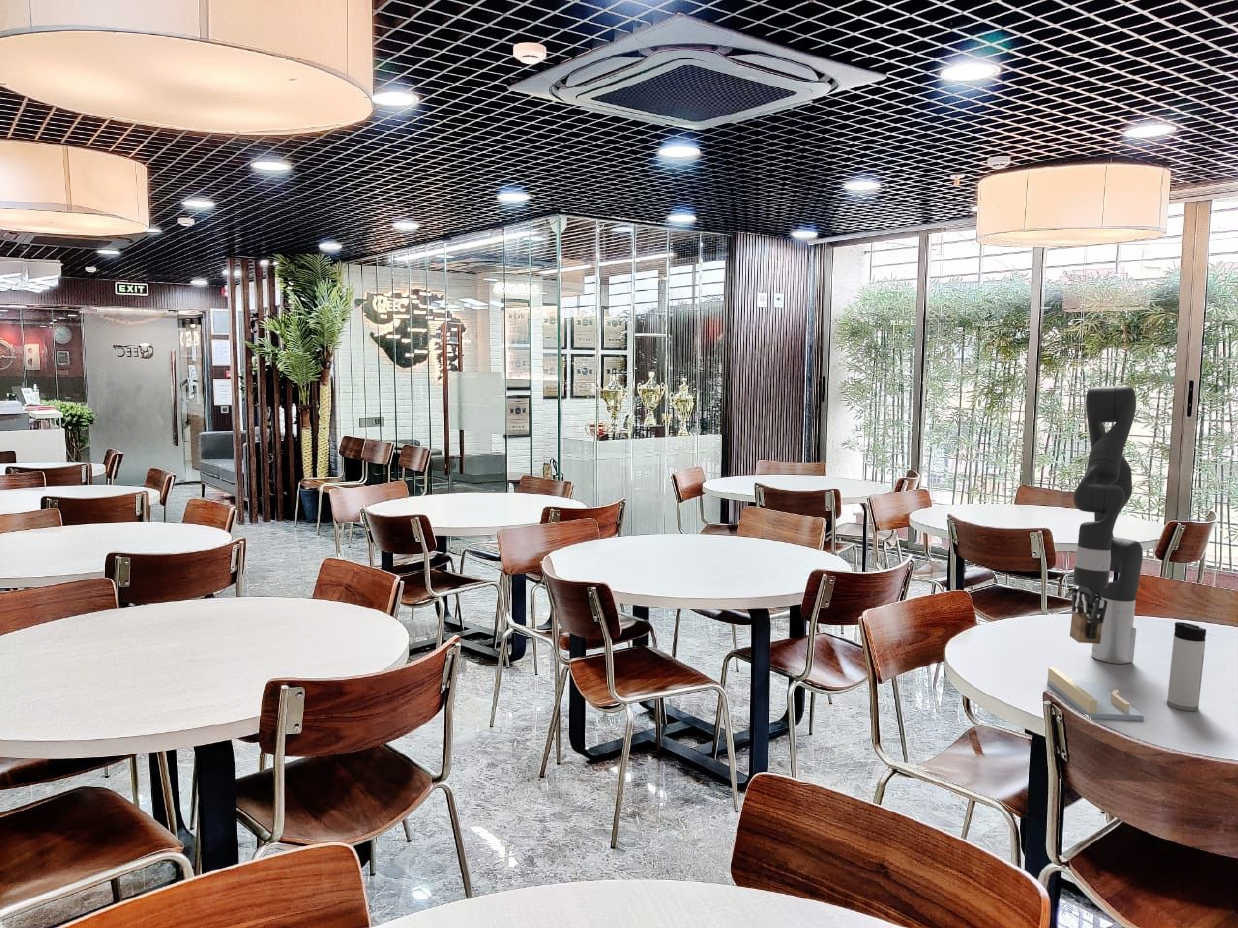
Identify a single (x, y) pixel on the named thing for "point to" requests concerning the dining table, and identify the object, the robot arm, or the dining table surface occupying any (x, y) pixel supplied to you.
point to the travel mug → (1186, 667)
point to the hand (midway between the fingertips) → (1085, 634)
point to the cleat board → (1092, 698)
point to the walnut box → (1083, 629)
